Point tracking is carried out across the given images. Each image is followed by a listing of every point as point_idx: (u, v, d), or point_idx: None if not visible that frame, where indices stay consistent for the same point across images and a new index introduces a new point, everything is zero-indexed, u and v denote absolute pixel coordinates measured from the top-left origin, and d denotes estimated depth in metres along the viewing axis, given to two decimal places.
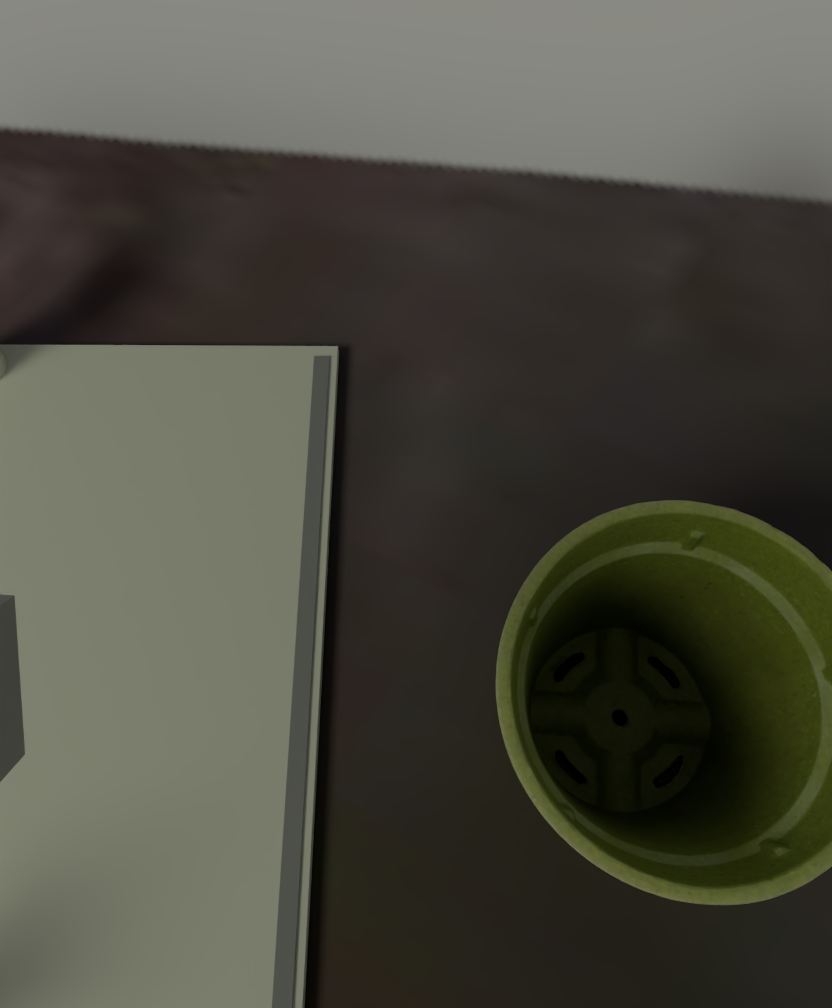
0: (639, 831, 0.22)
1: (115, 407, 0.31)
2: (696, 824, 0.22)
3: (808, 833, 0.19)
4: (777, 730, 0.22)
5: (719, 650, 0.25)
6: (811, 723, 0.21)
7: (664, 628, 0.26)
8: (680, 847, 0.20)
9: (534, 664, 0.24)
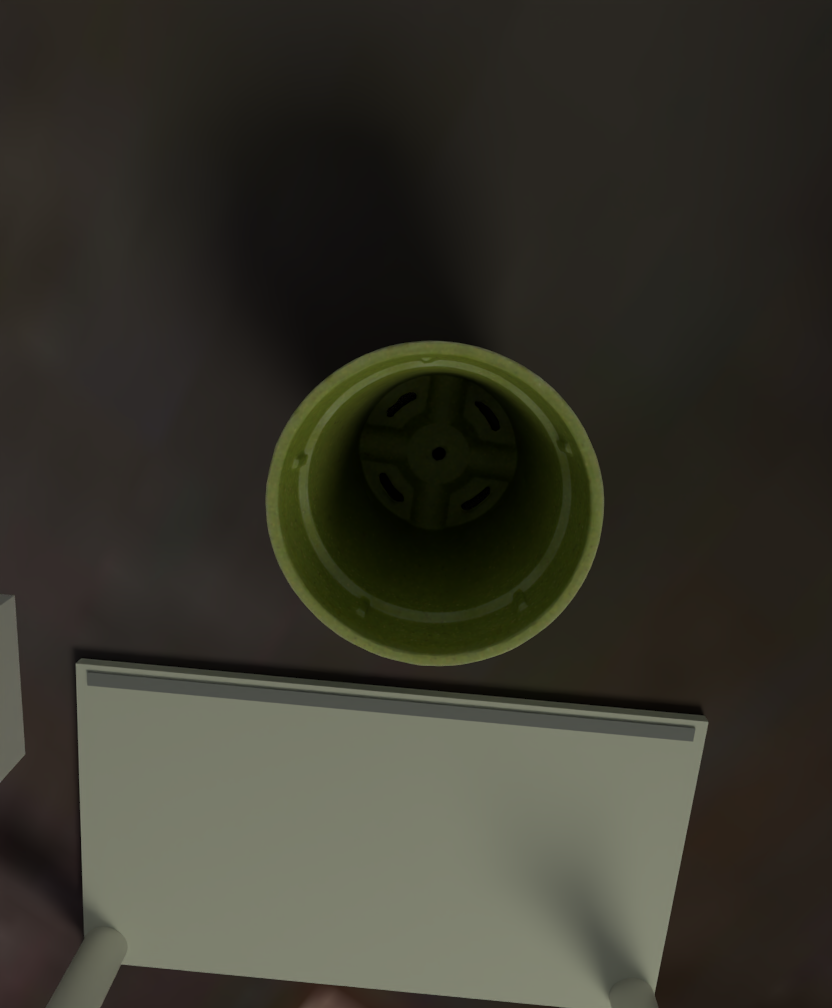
0: (536, 497, 0.27)
1: (143, 845, 0.35)
2: (536, 447, 0.26)
3: (557, 424, 0.22)
4: (467, 374, 0.25)
5: (390, 384, 0.27)
6: (467, 371, 0.23)
7: (364, 413, 0.29)
8: (554, 494, 0.25)
9: (393, 554, 0.28)
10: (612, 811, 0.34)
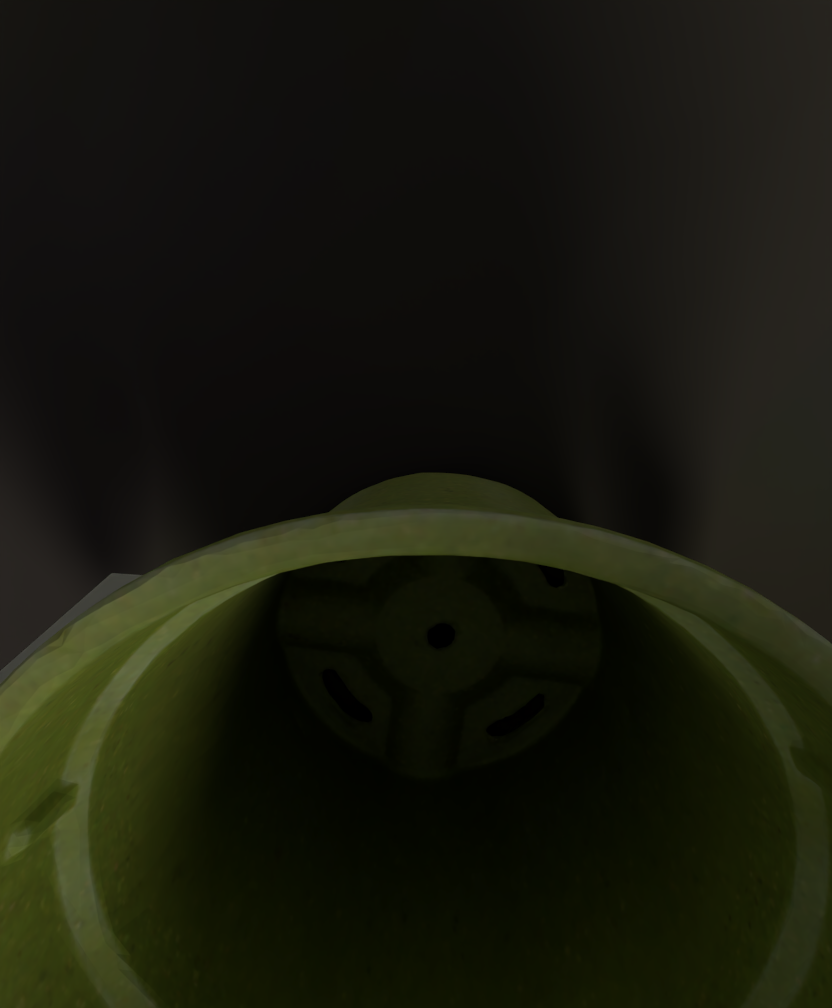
0: (674, 788, 0.11)
1: None
2: (674, 677, 0.11)
3: (827, 736, 0.07)
4: None
5: None
6: None
7: None
8: (749, 840, 0.09)
9: (345, 888, 0.13)
10: None
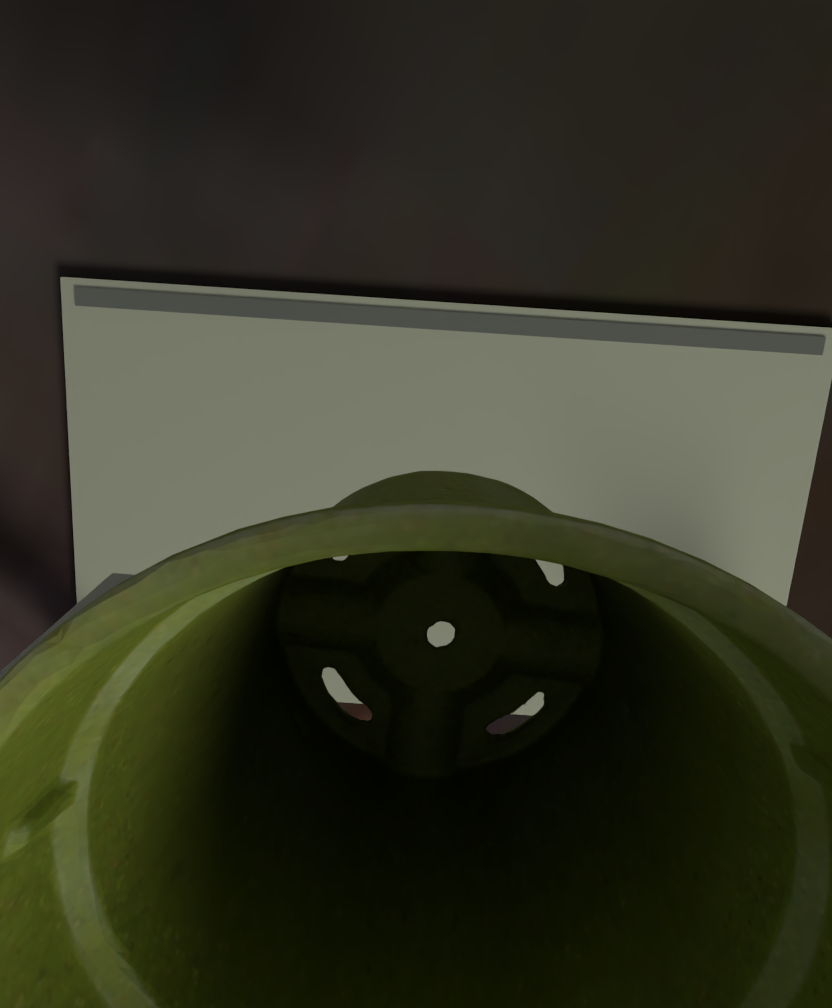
0: (674, 786, 0.11)
1: (148, 525, 0.29)
2: (674, 675, 0.11)
3: (827, 733, 0.07)
4: None
5: None
6: None
7: (279, 568, 0.13)
8: (749, 837, 0.09)
9: (345, 887, 0.13)
10: (721, 457, 0.28)
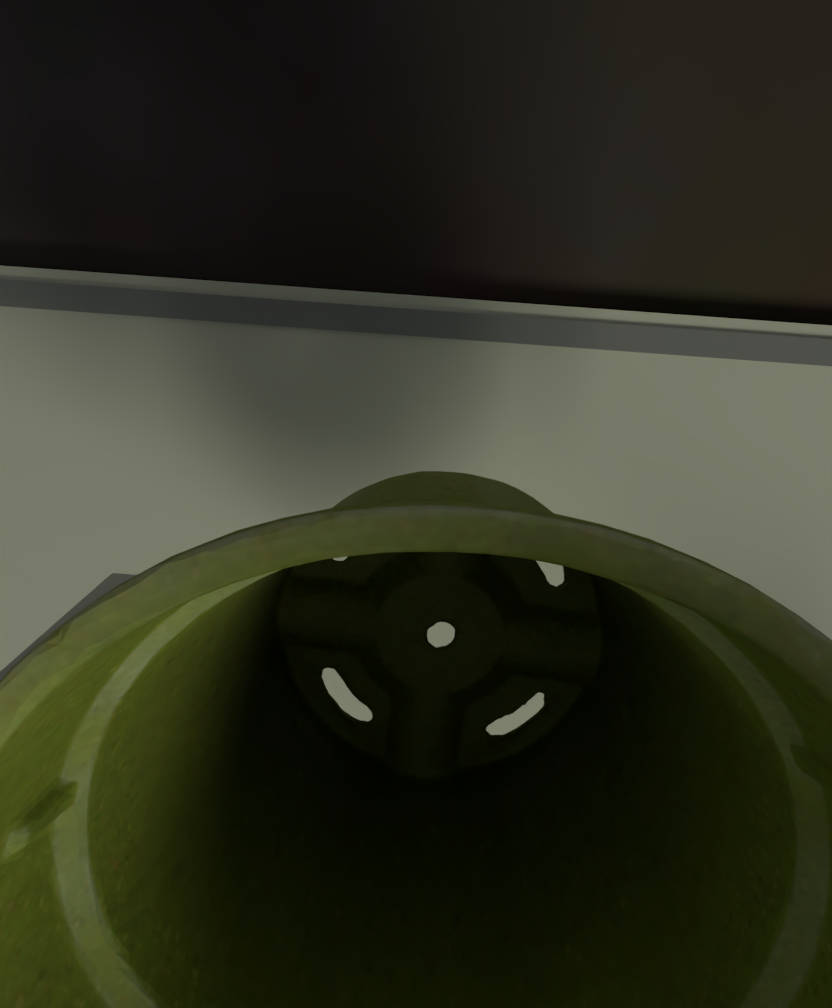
0: (674, 786, 0.11)
1: (35, 608, 0.20)
2: (675, 675, 0.11)
3: (827, 734, 0.07)
4: None
5: None
6: None
7: None
8: (749, 838, 0.09)
9: (345, 887, 0.13)
10: None
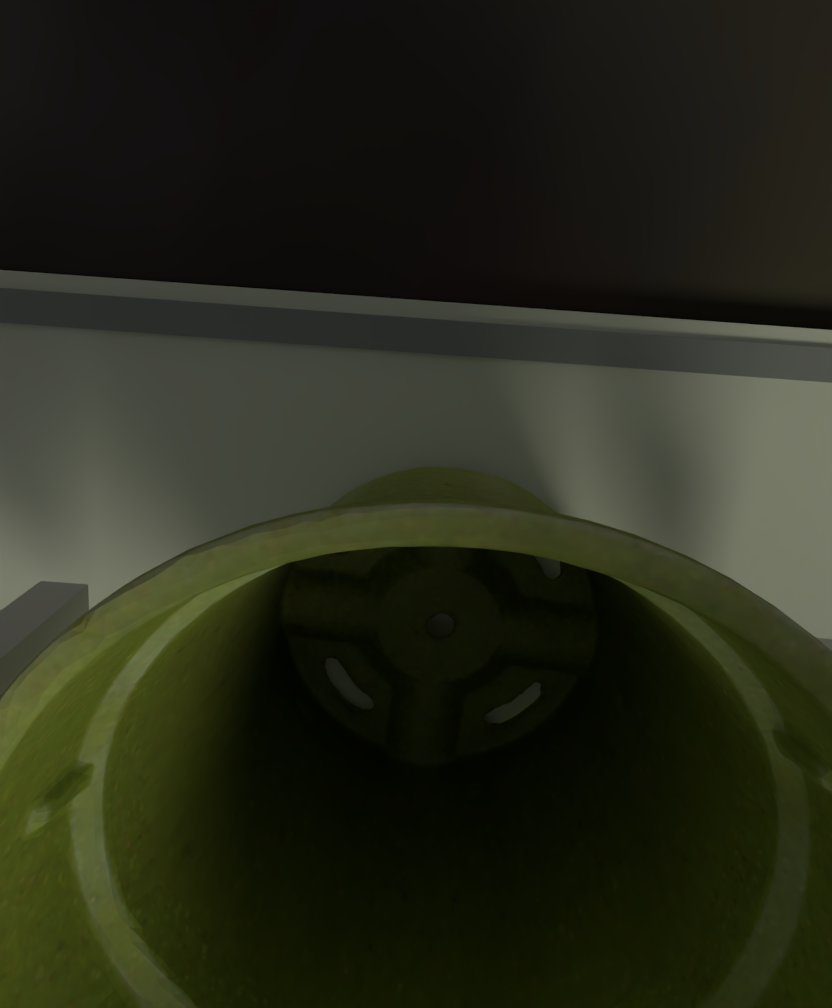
0: (665, 772, 0.12)
1: None
2: (666, 665, 0.11)
3: (805, 719, 0.07)
4: None
5: None
6: None
7: None
8: (735, 820, 0.10)
9: (347, 869, 0.13)
10: None
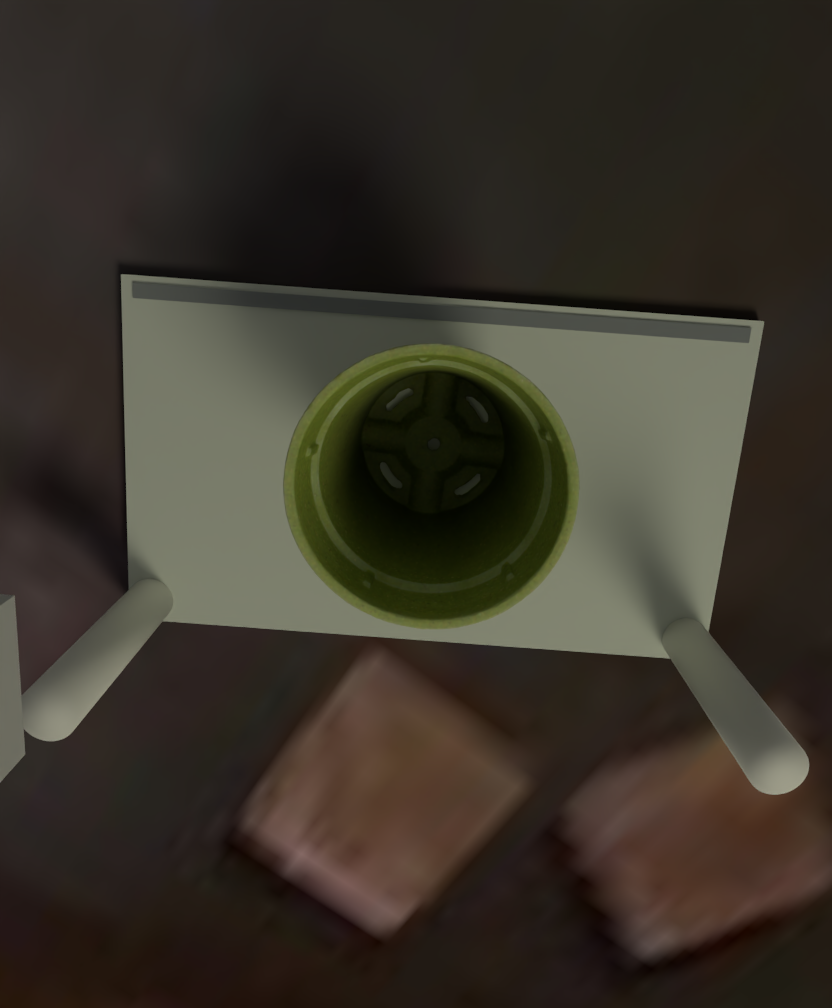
0: (521, 481, 0.30)
1: (189, 482, 0.34)
2: (520, 437, 0.30)
3: (538, 415, 0.26)
4: (459, 372, 0.28)
5: (390, 381, 0.30)
6: (459, 369, 0.27)
7: (366, 408, 0.32)
8: (537, 478, 0.28)
9: (394, 534, 0.31)
10: (666, 427, 0.33)
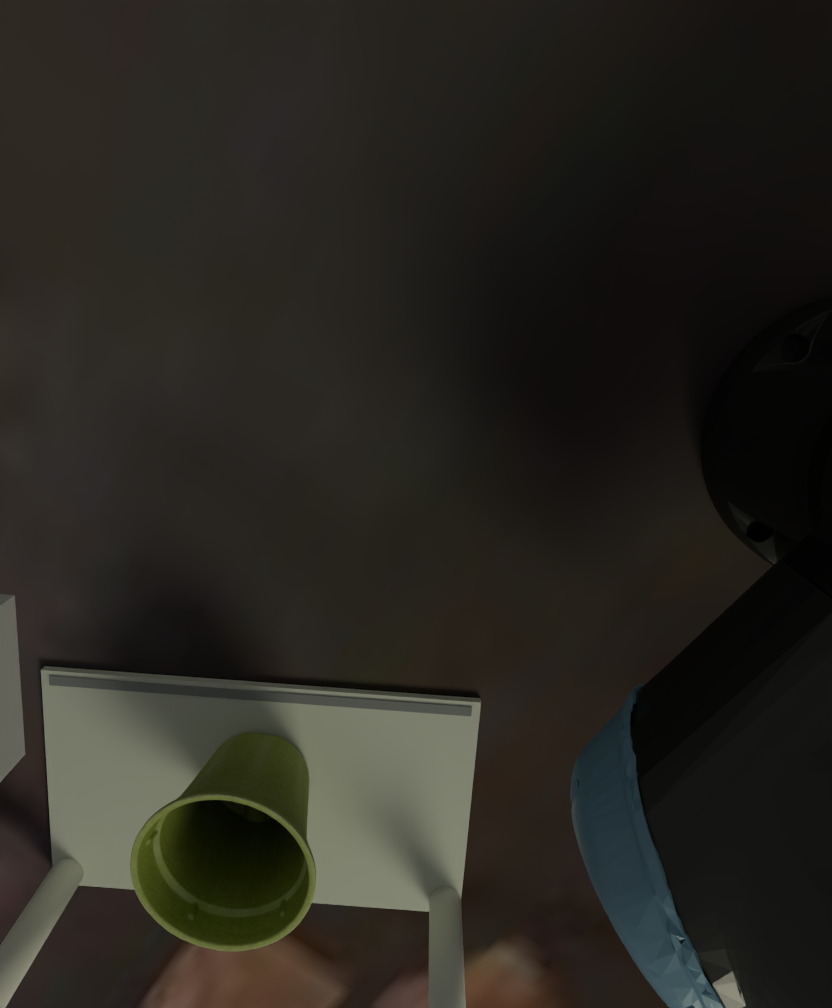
0: None
1: (92, 797, 0.49)
2: (302, 801, 0.44)
3: None
4: None
5: None
6: None
7: None
8: None
9: (224, 854, 0.46)
10: (420, 766, 0.48)
